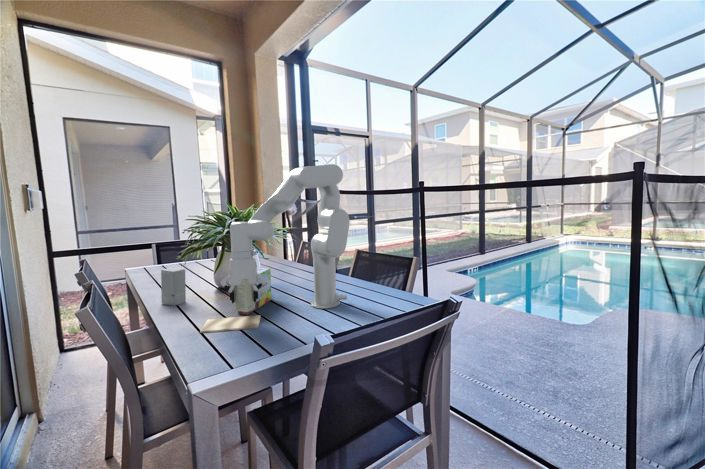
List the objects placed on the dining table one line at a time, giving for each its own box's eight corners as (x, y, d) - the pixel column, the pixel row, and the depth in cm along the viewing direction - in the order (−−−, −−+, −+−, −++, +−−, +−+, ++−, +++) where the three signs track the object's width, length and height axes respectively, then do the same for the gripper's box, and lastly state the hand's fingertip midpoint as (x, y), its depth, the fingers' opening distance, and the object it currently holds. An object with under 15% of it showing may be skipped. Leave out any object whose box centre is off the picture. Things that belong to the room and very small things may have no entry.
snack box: (249, 315, 139) (248, 278, 137) (237, 314, 140) (235, 278, 138) (272, 299, 160) (270, 267, 158) (261, 298, 161) (259, 267, 159)
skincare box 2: (255, 309, 130) (253, 277, 128) (247, 312, 126) (245, 280, 125) (242, 307, 132) (240, 276, 131) (234, 310, 129) (232, 278, 127)
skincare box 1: (161, 304, 155) (158, 270, 153) (174, 299, 161) (172, 266, 160) (175, 306, 152) (172, 271, 150) (188, 301, 158) (185, 268, 156)
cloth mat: (260, 316, 137) (260, 315, 137) (258, 327, 125) (258, 326, 125) (207, 320, 133) (207, 319, 133) (200, 333, 121) (199, 331, 121)
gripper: (266, 252, 132) (268, 297, 134) (219, 254, 129) (221, 300, 131) (265, 255, 125) (267, 302, 127) (215, 257, 122) (218, 306, 124)
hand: (244, 301), depth 129 cm, fingers closed on skincare box 2, 7 cm apart
